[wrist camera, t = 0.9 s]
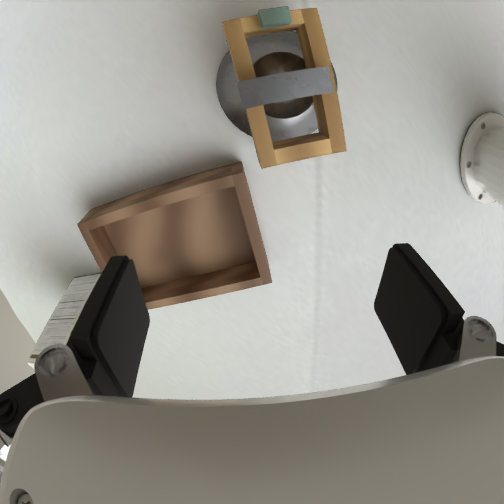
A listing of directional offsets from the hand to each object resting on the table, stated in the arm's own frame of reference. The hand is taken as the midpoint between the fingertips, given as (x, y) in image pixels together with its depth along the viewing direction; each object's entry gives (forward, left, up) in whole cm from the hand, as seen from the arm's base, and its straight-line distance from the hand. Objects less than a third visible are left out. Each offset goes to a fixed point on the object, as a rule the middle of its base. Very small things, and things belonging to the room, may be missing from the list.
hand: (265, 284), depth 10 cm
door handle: (-5, -6, -20) cm, 21 cm away
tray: (+9, +7, -20) cm, 23 cm away
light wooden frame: (-5, -6, -17) cm, 19 cm away
